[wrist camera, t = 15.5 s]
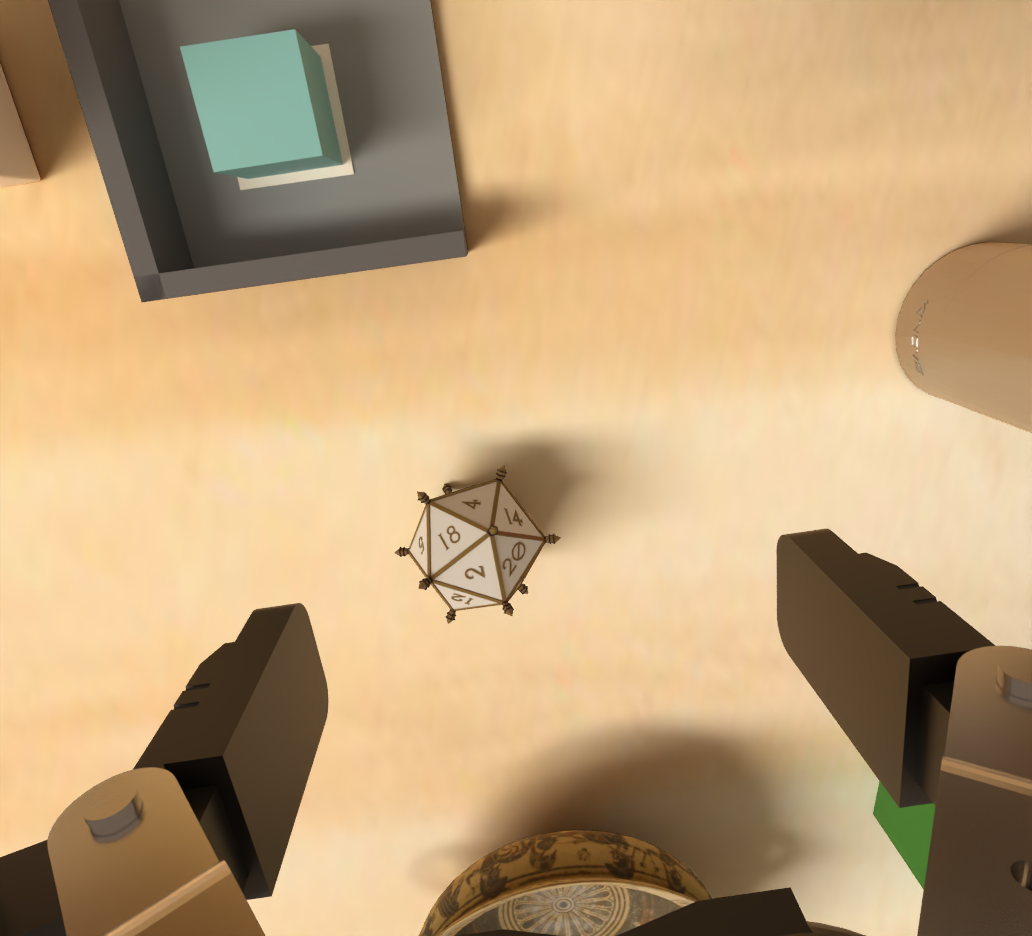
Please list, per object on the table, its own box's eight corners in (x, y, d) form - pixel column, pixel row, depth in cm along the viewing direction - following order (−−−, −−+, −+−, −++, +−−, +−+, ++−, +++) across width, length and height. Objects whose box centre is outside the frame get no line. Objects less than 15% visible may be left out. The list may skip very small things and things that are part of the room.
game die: (474, 468, 47) (510, 418, 37) (551, 569, 46) (607, 543, 37) (364, 547, 43) (373, 513, 34) (445, 656, 43) (478, 652, 33)
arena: (423, -45, 34) (414, -90, 29) (468, 252, 38) (466, 256, 34) (98, 0, 34) (36, -37, 29) (183, 292, 38) (141, 302, 34)
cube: (320, 56, 34) (294, 29, 29) (343, 164, 36) (322, 155, 31) (220, 71, 34) (179, 46, 29) (248, 179, 36) (213, 172, 31)
